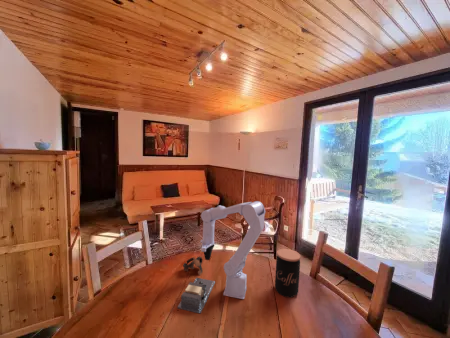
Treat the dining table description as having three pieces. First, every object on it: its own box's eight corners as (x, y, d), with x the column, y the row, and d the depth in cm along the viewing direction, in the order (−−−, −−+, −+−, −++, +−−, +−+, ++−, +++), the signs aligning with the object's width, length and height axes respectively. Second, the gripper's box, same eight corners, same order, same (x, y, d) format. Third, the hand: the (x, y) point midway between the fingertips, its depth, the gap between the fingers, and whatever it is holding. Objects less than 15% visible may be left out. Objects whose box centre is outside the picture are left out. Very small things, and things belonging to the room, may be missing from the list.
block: (201, 298, 86) (201, 287, 85) (198, 304, 82) (198, 292, 82) (188, 295, 87) (188, 284, 87) (184, 301, 83) (185, 290, 83)
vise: (215, 282, 98) (215, 272, 98) (200, 313, 78) (201, 301, 78) (196, 278, 100) (196, 269, 100) (177, 308, 80) (177, 296, 80)
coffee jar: (272, 293, 92) (274, 255, 91) (277, 281, 101) (279, 246, 100) (296, 301, 87) (298, 262, 86) (299, 288, 96) (301, 252, 95)
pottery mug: (197, 280, 100) (189, 266, 100) (185, 281, 105) (177, 268, 104) (209, 263, 110) (202, 251, 110) (197, 265, 115) (191, 253, 115)
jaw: (209, 288, 92) (209, 279, 92) (204, 298, 85) (204, 288, 85) (193, 285, 94) (193, 276, 94) (187, 295, 87) (187, 285, 87)
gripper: (205, 227, 108) (204, 251, 108) (195, 237, 94) (194, 265, 94) (218, 229, 106) (217, 253, 107) (210, 239, 92) (208, 267, 93)
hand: (207, 259), depth 100 cm, fingers closed
